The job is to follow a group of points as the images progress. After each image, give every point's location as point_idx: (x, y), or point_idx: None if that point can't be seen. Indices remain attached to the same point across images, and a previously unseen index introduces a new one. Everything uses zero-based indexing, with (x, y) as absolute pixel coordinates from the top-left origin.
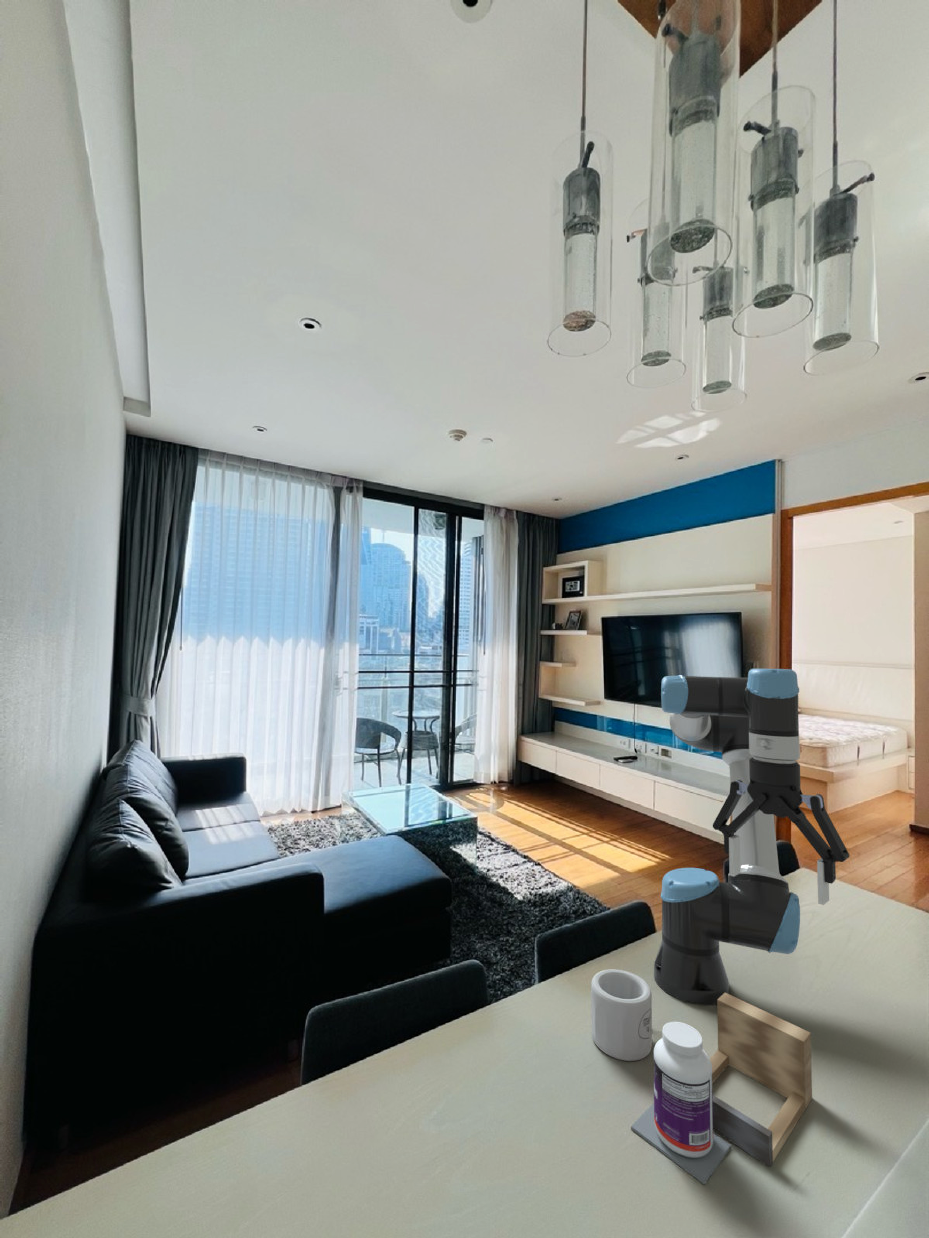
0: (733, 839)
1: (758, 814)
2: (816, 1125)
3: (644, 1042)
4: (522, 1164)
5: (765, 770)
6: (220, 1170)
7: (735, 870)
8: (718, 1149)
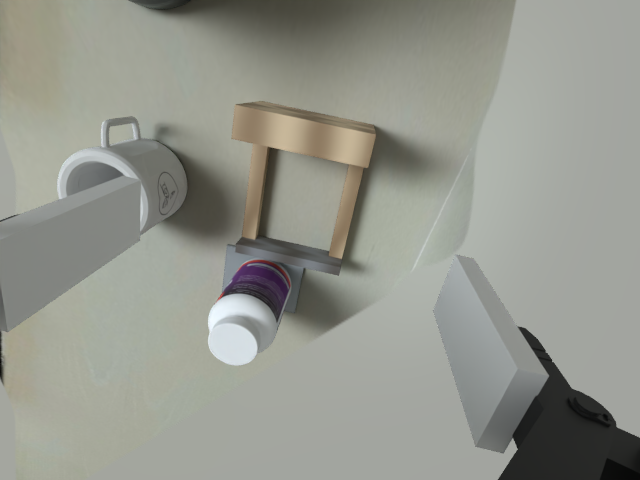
0: (12, 324)
1: None
2: (379, 173)
3: (177, 197)
4: (174, 371)
5: None
6: (44, 464)
7: (127, 232)
8: (296, 275)
